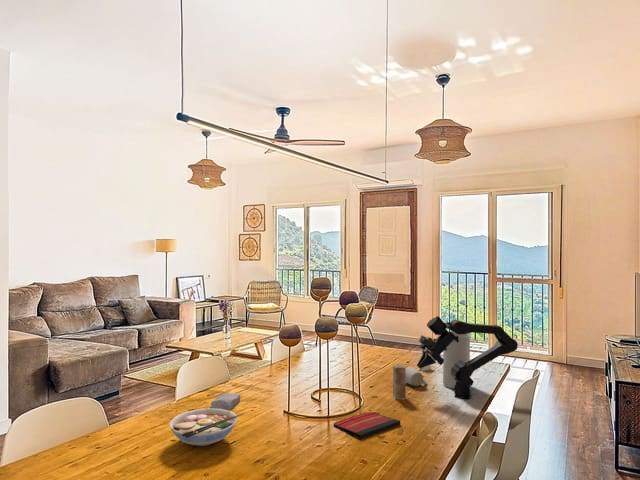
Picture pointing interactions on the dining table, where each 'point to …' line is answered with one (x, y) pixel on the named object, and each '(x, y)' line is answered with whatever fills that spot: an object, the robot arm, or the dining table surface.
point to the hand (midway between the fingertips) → (418, 366)
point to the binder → (366, 424)
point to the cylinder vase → (455, 357)
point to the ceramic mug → (414, 377)
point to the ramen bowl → (203, 426)
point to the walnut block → (399, 381)
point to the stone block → (225, 401)
